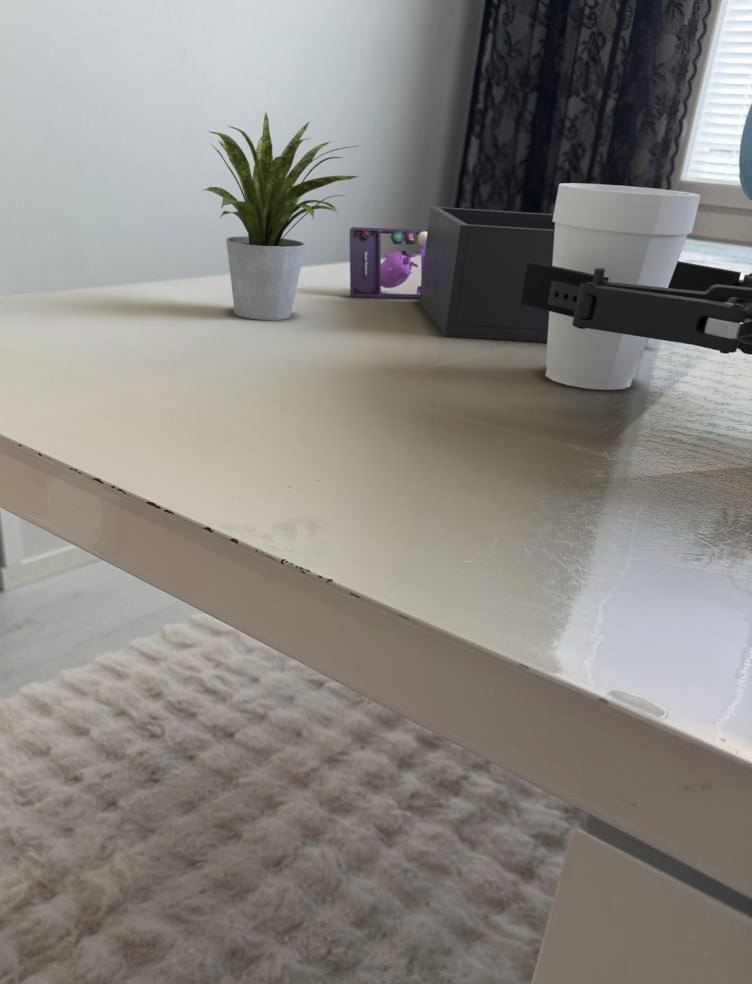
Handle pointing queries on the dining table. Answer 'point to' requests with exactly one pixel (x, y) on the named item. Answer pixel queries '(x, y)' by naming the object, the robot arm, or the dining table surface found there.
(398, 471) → the dining table surface
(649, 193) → the white flower pot
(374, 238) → the purple cardboard box
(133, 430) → the dining table surface
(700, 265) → the robot arm
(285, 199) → the house plant
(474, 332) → the dark grey open box
